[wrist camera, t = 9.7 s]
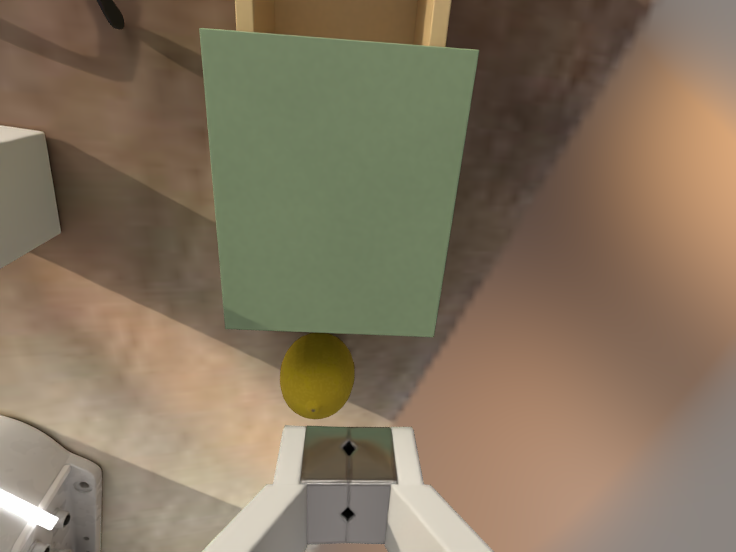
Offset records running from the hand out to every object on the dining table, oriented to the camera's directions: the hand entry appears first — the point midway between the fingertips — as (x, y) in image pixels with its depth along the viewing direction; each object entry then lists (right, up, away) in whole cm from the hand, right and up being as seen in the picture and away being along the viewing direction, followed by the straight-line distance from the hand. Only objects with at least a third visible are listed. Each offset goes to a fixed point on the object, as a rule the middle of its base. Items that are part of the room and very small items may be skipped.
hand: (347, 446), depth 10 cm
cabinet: (-1, +11, +20) cm, 23 cm away
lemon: (-3, -1, +26) cm, 27 cm away
